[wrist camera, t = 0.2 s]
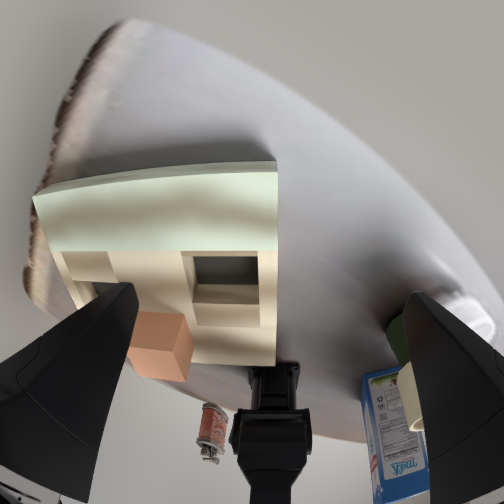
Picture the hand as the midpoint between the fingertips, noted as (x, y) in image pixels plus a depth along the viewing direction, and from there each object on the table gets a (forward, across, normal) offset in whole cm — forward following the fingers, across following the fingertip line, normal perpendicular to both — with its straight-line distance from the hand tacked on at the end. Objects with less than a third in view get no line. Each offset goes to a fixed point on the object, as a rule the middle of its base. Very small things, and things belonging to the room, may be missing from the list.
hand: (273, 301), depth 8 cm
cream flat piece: (+14, +10, +10) cm, 21 cm away
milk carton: (+15, -19, +32) cm, 40 cm away
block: (+12, +10, +15) cm, 22 cm away
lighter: (+15, +8, +42) cm, 45 cm away
